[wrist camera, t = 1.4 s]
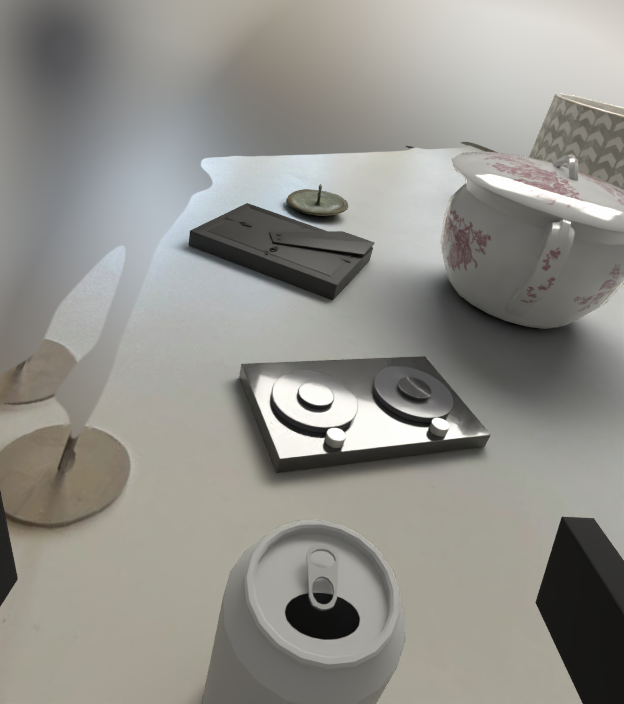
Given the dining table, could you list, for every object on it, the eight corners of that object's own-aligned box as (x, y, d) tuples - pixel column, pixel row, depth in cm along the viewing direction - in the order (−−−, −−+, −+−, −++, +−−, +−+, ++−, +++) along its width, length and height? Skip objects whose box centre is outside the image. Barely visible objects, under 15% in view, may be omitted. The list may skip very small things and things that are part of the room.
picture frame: (369, 260, 80) (245, 216, 84) (374, 242, 78) (247, 198, 82) (333, 300, 67) (188, 245, 71) (338, 279, 65) (190, 225, 70)
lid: (352, 226, 94) (362, 198, 93) (324, 221, 86) (334, 190, 84) (304, 207, 99) (313, 180, 97) (273, 201, 91) (281, 171, 89)
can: (187, 810, 24) (217, 677, 17) (208, 640, 30) (236, 494, 24) (352, 815, 25) (438, 691, 18) (340, 649, 31) (401, 513, 25)
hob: (239, 376, 50) (242, 354, 49) (420, 367, 58) (428, 348, 57) (276, 473, 41) (282, 449, 40) (484, 446, 49) (495, 426, 48)
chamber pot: (496, 253, 94) (549, 129, 82) (641, 340, 76) (734, 197, 65) (371, 264, 78) (415, 114, 67) (517, 376, 61) (609, 197, 50)
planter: (637, 241, 120) (701, 129, 107) (602, 261, 103) (674, 130, 90) (533, 200, 132) (580, 95, 119) (487, 211, 115) (535, 90, 102)
